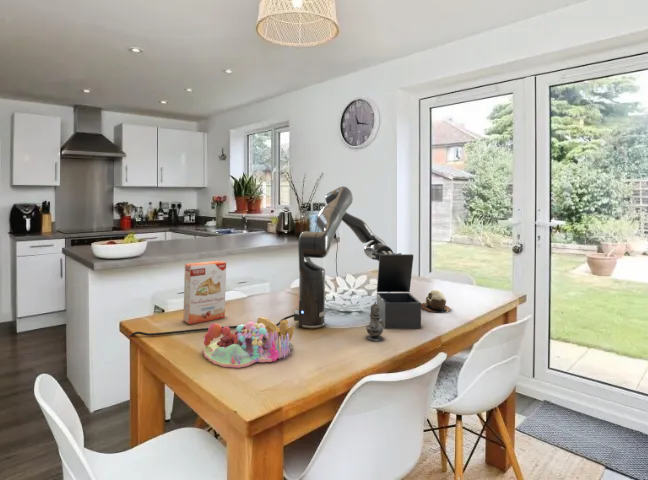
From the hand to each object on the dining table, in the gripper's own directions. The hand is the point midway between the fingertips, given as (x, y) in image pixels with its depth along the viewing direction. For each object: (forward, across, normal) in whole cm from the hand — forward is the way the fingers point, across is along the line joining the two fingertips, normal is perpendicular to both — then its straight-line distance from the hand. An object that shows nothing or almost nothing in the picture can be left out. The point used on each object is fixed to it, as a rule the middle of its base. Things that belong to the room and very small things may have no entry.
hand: (391, 259), depth 161 cm
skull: (-7, +20, +22) cm, 30 cm away
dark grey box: (+10, 0, +21) cm, 23 cm away
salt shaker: (+27, -12, +22) cm, 36 cm away
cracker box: (+6, -71, +22) cm, 74 cm away
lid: (+5, 0, +5) cm, 7 cm away
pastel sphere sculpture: (+36, -51, +22) cm, 66 cm away
